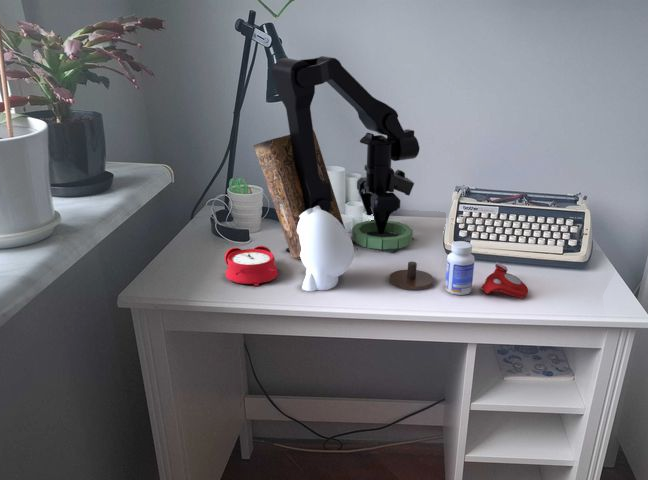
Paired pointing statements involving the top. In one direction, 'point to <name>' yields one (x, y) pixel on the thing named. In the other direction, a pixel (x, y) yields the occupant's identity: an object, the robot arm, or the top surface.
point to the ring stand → (411, 278)
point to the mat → (385, 234)
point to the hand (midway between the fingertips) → (376, 227)
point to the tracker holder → (504, 283)
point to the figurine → (323, 249)
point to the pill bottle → (460, 268)
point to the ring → (382, 242)
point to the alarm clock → (250, 265)
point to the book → (289, 186)
